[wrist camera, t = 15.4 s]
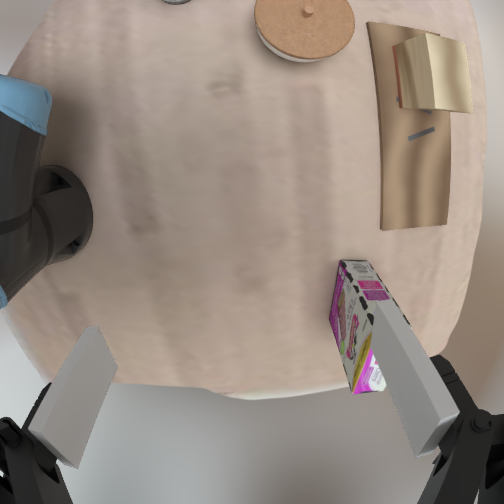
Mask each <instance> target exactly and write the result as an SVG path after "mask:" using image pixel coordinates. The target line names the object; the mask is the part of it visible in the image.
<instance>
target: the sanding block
mask: <svg viewBox="0 0 504 504" xmlns="http://www.w3.org/2000/svg"><path fill="white" fill-rule="evenodd" d="M392 49H393V56H394V63H395V70H396V78H397V87H398V97H399V108H406V109H419V110H430V111H446V112H461V113H473V108H472V95H471V85H470V76H469V68H468V61H467V55H466V49H465V44H464V43H463V42H460V41H456V40H453V39H449V38H445V37H441V36H437V35H433V34H429V33H423V34H421V35H418V36H416V37H413V38H411V39H408V40H406V41H404V42H401V43H399V44H396V45H394V46H392Z"/></svg>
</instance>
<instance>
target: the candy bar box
mask: <svg viewBox="0 0 504 504" xmlns="http://www.w3.org/2000/svg"><path fill="white" fill-rule="evenodd" d="M388 299H392V301H393V302H394V304H395V305H396V307H397V308H398V310H399V311H400V313H401V314H402V316H403V317H404V319H405V320H406V322H407V323H408V325H409V326H410V328H411V329H412V326H411V325H410V323H409V322H408V320H407V319H406V317H405V315H404V314H403V312H402V311H401V309H400V308H399V306H398V304H397V303H396V301H395V300H394V298H393V297H392V295H391V294H390V292H389V291H388V290H387V288H386V286H385V285H384V283H383V282H382V280H381V279H380V278H379V276H378V275H377V273H376V272H375V270H374V269H373V267H372V266H371V264H370V263H369V262H368V261H353V260H340V263H339V269H338V275H337V281H336V287H335V292H334V297H333V303H332V307H331V312H330V317H329V321H330V324H331V327H332V330H333V333H334V336H335V339H336V342H337V346H338V349H339V352H340V355H341V359H342V362H343V366H344V369H345V372H346V375H347V379H348V382H349V386H350V389H351V393H352V394H360V393H368V392H377V391H383V390H384V389H385V387H386V385H387V384H386V382H385V380H384V377H383V375H382V373H381V370H380V368H379V366H378V364H377V361H376V359H375V357H374V355H373V352H372V350H371V348H370V343H371V337H372V330H373V323H374V315H375V308H376V301H382V300H388Z"/></svg>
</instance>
